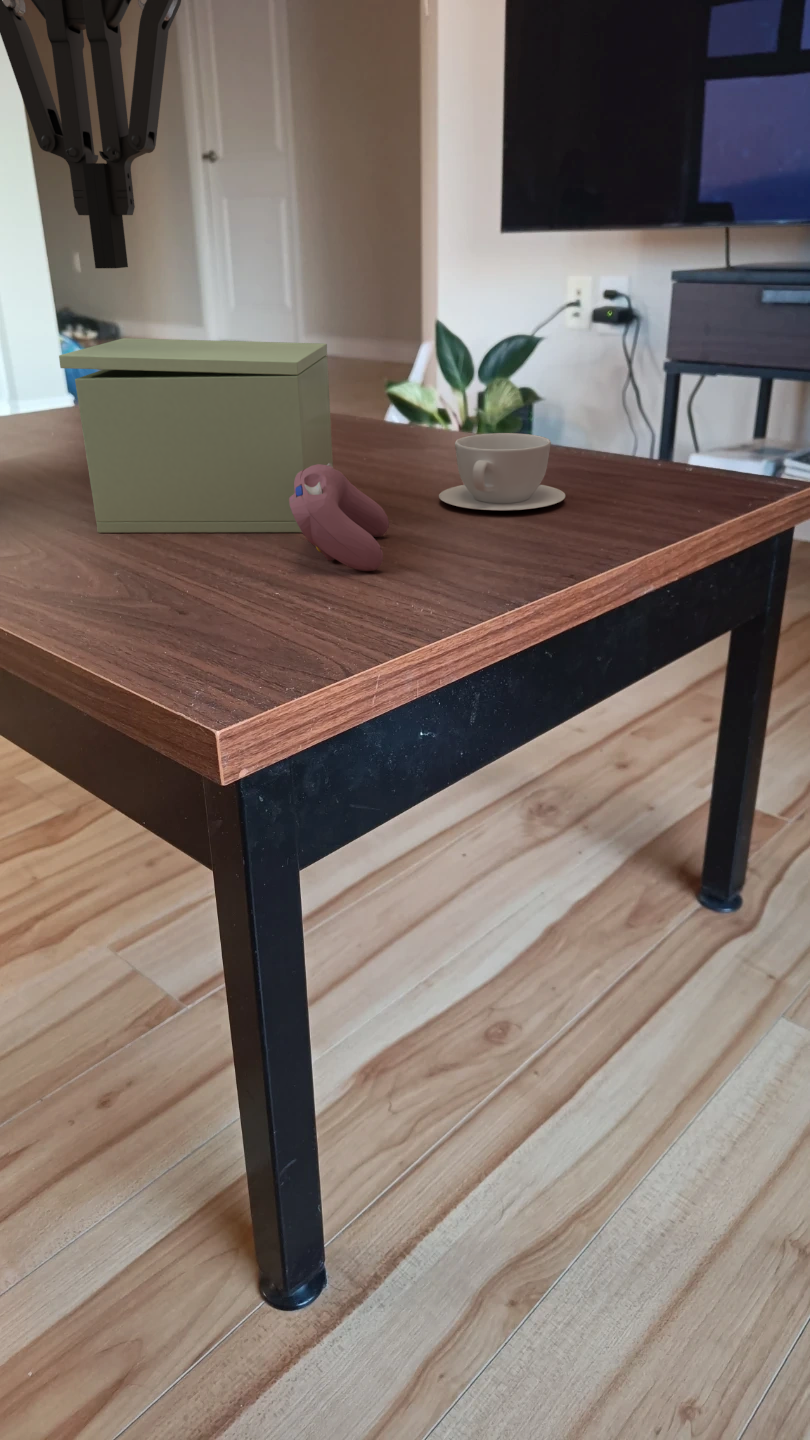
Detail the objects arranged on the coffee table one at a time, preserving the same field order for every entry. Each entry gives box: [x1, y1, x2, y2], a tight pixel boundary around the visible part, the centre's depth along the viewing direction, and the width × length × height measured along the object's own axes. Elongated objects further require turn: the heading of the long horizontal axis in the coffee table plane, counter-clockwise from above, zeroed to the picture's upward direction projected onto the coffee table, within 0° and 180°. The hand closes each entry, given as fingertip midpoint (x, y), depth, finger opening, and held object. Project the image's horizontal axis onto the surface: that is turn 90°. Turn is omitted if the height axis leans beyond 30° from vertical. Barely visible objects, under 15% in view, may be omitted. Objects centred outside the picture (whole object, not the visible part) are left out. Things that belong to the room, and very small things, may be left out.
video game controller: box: [289, 463, 390, 572], centre depth 68 cm, size 10×5×7 cm, turn 178°
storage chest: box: [74, 355, 334, 534], centre depth 79 cm, size 16×14×11 cm
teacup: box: [438, 432, 566, 511], centre depth 81 cm, size 10×10×5 cm
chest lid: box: [58, 337, 328, 375], centre depth 76 cm, size 16×14×1 cm
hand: (111, 267), depth 73 cm, fingers closed
